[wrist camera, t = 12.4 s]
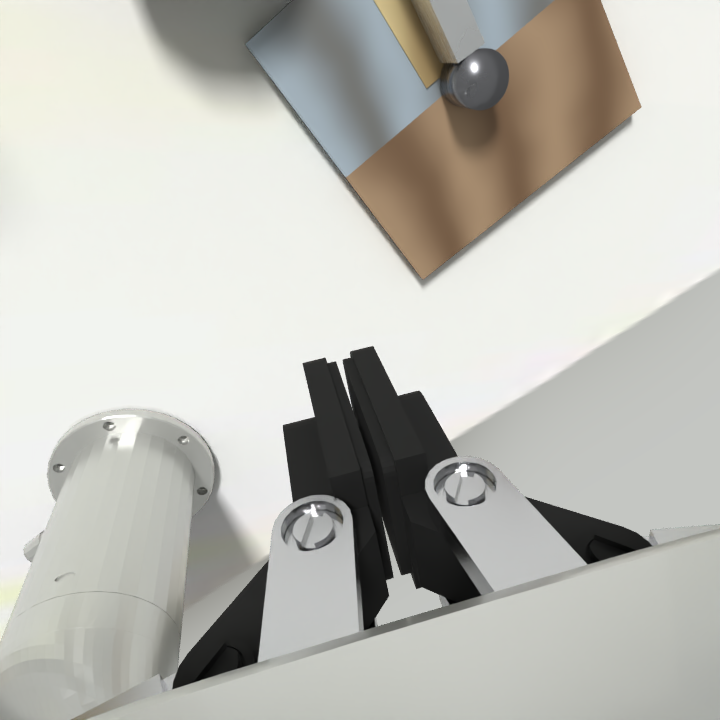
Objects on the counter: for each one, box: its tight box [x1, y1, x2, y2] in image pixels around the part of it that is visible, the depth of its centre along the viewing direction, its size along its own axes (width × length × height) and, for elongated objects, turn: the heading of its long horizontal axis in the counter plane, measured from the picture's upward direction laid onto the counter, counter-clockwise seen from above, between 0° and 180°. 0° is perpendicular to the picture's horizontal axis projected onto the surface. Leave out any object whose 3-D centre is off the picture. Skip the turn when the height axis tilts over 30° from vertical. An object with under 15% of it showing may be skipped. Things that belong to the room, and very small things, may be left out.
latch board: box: [245, 0, 641, 279], centre depth 34 cm, size 19×19×1 cm
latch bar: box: [411, 0, 509, 110], centre depth 30 cm, size 11×3×3 cm, turn 33°
